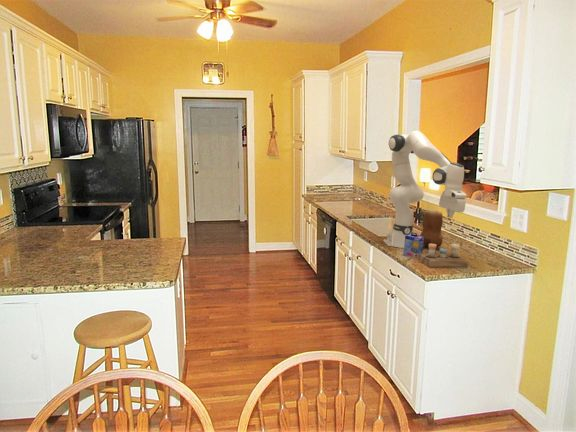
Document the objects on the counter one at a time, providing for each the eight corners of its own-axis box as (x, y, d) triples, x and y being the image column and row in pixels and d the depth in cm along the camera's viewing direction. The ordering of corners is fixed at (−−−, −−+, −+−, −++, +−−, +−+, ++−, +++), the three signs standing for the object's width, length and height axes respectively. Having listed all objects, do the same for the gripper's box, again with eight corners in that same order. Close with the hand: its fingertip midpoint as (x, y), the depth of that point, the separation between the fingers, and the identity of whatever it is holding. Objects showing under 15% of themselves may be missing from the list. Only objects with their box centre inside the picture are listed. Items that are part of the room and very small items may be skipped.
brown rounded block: (438, 246, 285) (442, 209, 280) (443, 251, 272) (448, 212, 267) (417, 245, 286) (420, 207, 282) (421, 249, 273) (425, 210, 269)
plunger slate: (437, 260, 243) (438, 247, 241) (443, 260, 243) (444, 247, 242) (440, 262, 239) (442, 249, 238) (447, 262, 240) (448, 249, 238)
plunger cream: (448, 255, 244) (450, 243, 242) (455, 255, 244) (456, 243, 243) (452, 257, 240) (454, 245, 239) (459, 257, 241) (460, 245, 239)
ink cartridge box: (402, 255, 257) (405, 231, 254) (406, 253, 261) (409, 230, 259) (418, 258, 251) (421, 234, 248) (422, 257, 255) (425, 233, 253)
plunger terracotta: (426, 255, 241) (427, 243, 240) (432, 255, 242) (434, 243, 240) (429, 257, 237) (431, 245, 236) (436, 257, 238) (437, 245, 237)
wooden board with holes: (417, 260, 246) (418, 253, 245) (452, 260, 250) (453, 253, 250) (430, 267, 232) (431, 260, 232) (467, 267, 237) (467, 260, 236)
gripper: (437, 190, 247) (434, 213, 249) (458, 195, 227) (454, 221, 229) (448, 190, 248) (444, 214, 250) (468, 195, 228) (465, 221, 231)
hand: (449, 217), depth 240 cm, fingers closed
